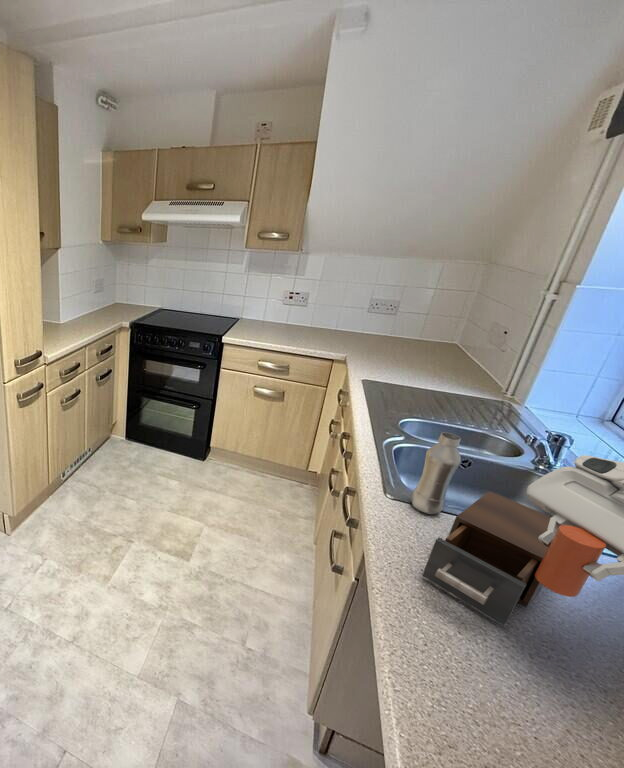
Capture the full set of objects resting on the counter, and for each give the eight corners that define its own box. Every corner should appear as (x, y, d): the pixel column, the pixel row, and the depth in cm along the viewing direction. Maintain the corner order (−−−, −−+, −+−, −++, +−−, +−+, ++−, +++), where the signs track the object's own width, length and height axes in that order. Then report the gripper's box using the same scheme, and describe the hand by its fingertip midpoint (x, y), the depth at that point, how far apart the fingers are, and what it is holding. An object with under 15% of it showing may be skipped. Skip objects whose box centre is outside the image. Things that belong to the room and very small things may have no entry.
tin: (582, 588, 61) (609, 539, 57) (573, 602, 58) (601, 552, 55) (540, 567, 64) (563, 520, 61) (530, 579, 62) (554, 532, 59)
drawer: (493, 639, 67) (513, 599, 64) (409, 586, 77) (423, 549, 74) (534, 587, 77) (554, 550, 74) (456, 546, 87) (470, 512, 84)
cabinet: (526, 607, 74) (550, 561, 70) (439, 558, 85) (456, 516, 81) (555, 570, 82) (578, 527, 79) (472, 529, 93) (489, 490, 89)
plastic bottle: (439, 506, 101) (466, 434, 94) (442, 521, 96) (471, 446, 88) (407, 497, 104) (431, 426, 97) (409, 511, 99) (434, 438, 91)
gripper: (783, 570, 48) (666, 634, 51) (583, 472, 67) (506, 523, 70) (773, 541, 46) (652, 610, 49) (570, 449, 65) (491, 502, 68)
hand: (565, 558), depth 60 cm, fingers closed on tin, 4 cm apart
